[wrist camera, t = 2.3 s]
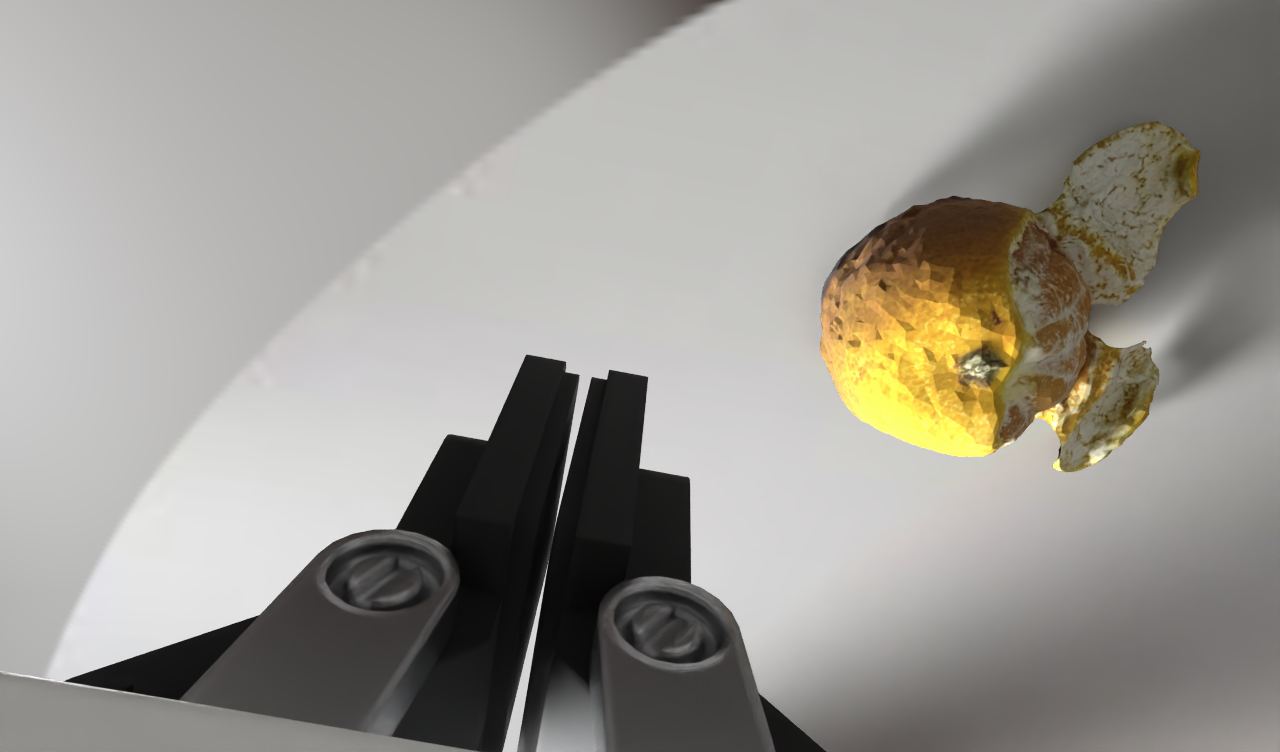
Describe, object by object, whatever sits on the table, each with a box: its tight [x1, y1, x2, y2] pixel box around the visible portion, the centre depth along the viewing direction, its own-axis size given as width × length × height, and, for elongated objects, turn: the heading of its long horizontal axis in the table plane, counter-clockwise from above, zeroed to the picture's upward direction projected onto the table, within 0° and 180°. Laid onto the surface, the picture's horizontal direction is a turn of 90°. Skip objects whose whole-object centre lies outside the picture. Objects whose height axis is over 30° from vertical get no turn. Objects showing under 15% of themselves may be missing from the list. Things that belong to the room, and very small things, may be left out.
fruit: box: [820, 121, 1200, 472], centre depth 19 cm, size 8×8×4 cm
